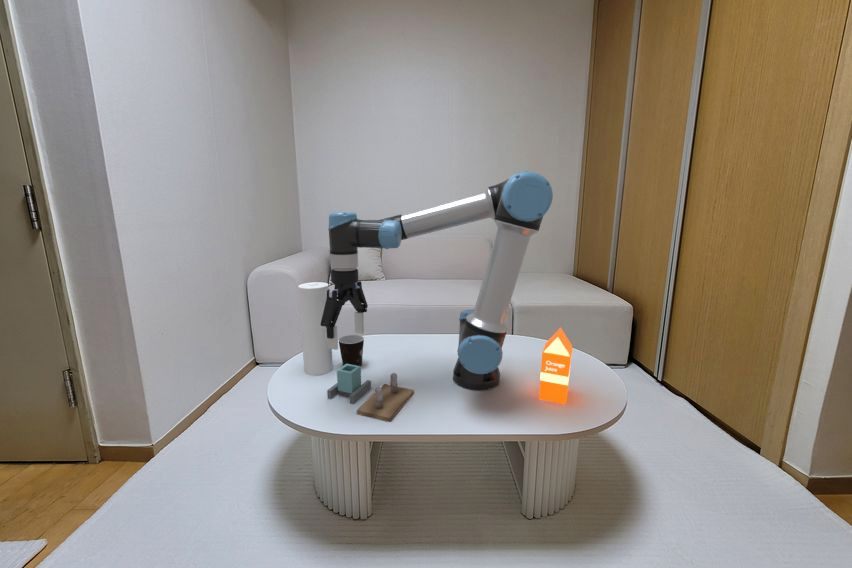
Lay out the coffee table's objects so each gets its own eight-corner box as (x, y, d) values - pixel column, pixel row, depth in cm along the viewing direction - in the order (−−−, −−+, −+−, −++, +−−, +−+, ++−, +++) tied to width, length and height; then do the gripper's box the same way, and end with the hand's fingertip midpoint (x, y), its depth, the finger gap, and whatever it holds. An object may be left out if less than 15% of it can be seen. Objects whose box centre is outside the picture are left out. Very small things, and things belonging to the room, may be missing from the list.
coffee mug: (352, 358, 136) (351, 332, 134) (370, 364, 131) (369, 338, 129) (327, 370, 127) (326, 342, 125) (345, 377, 122) (343, 348, 120)
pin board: (414, 393, 112) (414, 371, 110) (389, 422, 97) (389, 396, 96) (384, 387, 116) (384, 365, 114) (356, 414, 101) (355, 389, 99)
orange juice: (538, 399, 109) (543, 334, 105) (542, 385, 117) (546, 325, 113) (566, 405, 106) (572, 338, 102) (568, 390, 114) (574, 328, 110)
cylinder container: (315, 377, 122) (309, 288, 115) (298, 370, 127) (292, 284, 121) (338, 367, 129) (334, 283, 122) (321, 361, 134) (316, 279, 128)
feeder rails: (371, 388, 115) (370, 380, 114) (353, 404, 106) (353, 396, 105) (346, 383, 118) (346, 375, 118) (327, 398, 109) (327, 390, 109)
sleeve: (361, 390, 113) (360, 366, 112) (352, 398, 109) (351, 373, 107) (347, 387, 115) (346, 363, 113) (338, 395, 111) (336, 370, 109)
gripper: (356, 261, 116) (358, 325, 121) (303, 275, 94) (308, 354, 98) (378, 262, 114) (379, 328, 118) (328, 277, 91) (332, 358, 96)
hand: (346, 340), depth 108 cm, fingers open, 13 cm apart
